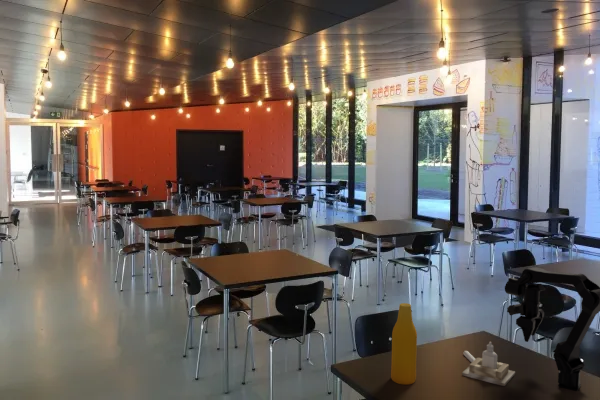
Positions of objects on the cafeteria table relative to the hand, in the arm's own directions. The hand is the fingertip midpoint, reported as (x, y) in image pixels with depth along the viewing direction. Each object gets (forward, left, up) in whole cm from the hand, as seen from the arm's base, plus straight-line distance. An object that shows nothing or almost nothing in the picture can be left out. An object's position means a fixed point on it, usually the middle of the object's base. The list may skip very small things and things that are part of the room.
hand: (529, 338), depth 210 cm
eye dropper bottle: (+11, +14, -12) cm, 21 cm away
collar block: (+11, +14, -13) cm, 22 cm away
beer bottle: (+35, +39, -13) cm, 54 cm away
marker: (+22, +3, -14) cm, 26 cm away
